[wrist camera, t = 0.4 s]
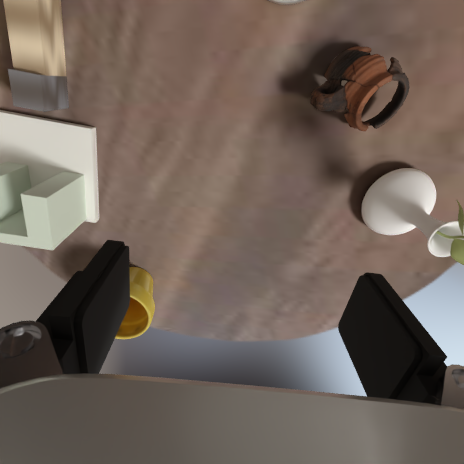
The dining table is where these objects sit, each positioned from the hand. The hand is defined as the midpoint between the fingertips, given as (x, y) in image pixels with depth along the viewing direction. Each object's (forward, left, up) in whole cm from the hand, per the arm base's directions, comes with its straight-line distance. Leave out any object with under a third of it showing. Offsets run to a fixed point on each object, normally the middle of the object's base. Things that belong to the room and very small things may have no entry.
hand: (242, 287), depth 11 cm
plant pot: (+29, -14, -35) cm, 48 cm away
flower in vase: (+4, +27, -35) cm, 45 cm away
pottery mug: (-9, +14, -35) cm, 39 cm away
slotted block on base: (+9, -27, -35) cm, 45 cm away
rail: (-8, -26, -35) cm, 44 cm away
